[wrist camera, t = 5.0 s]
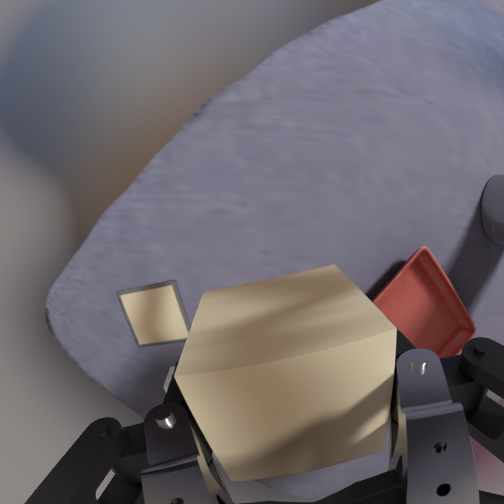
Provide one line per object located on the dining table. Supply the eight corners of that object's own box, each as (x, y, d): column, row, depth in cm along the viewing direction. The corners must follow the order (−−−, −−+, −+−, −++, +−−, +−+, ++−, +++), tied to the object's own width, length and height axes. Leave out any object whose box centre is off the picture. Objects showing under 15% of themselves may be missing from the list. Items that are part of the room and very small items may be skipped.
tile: (175, 279, 27) (174, 280, 27) (194, 338, 29) (194, 340, 28) (117, 291, 27) (115, 292, 27) (139, 345, 29) (138, 347, 29)
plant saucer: (465, 320, 30) (479, 331, 27) (377, 409, 33) (385, 424, 30) (408, 235, 27) (425, 242, 24) (295, 354, 30) (300, 371, 27)
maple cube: (334, 264, 10) (396, 328, 5) (344, 367, 12) (382, 449, 7) (203, 292, 10) (174, 376, 6) (235, 390, 12) (231, 481, 7)
